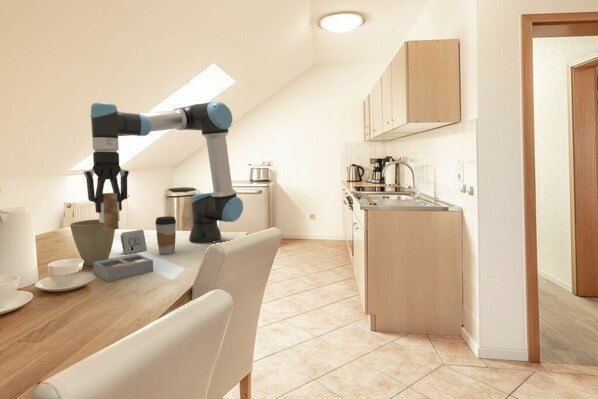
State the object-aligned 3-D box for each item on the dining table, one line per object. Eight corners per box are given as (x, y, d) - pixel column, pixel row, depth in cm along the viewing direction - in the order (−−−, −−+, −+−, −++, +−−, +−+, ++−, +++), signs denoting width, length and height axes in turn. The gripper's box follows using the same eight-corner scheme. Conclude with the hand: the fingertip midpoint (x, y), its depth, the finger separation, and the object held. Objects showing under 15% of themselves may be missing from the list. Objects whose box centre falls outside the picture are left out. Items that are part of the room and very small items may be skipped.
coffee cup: (181, 251, 154) (180, 216, 152) (168, 255, 146) (167, 219, 144) (165, 249, 157) (164, 215, 155) (151, 254, 149) (150, 218, 147)
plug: (113, 227, 123) (112, 192, 122) (118, 228, 120) (116, 193, 119) (101, 229, 120) (99, 193, 119) (105, 230, 117) (104, 194, 116)
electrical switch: (125, 255, 147) (123, 232, 147) (120, 254, 151) (117, 232, 150) (147, 250, 155) (145, 229, 154) (141, 250, 158) (139, 229, 158)
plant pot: (124, 257, 143) (122, 218, 141) (106, 269, 128) (103, 225, 127) (86, 258, 143) (84, 218, 141) (63, 269, 128) (60, 225, 126)
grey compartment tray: (137, 264, 135) (136, 252, 134) (153, 271, 126) (152, 259, 125) (93, 273, 123) (92, 261, 123) (108, 281, 115) (107, 268, 114)
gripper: (80, 150, 109) (85, 226, 111) (137, 151, 121) (139, 219, 124) (72, 150, 114) (77, 223, 116) (127, 152, 126) (130, 217, 129)
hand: (109, 221), depth 120 cm, fingers closed on plug, 4 cm apart
